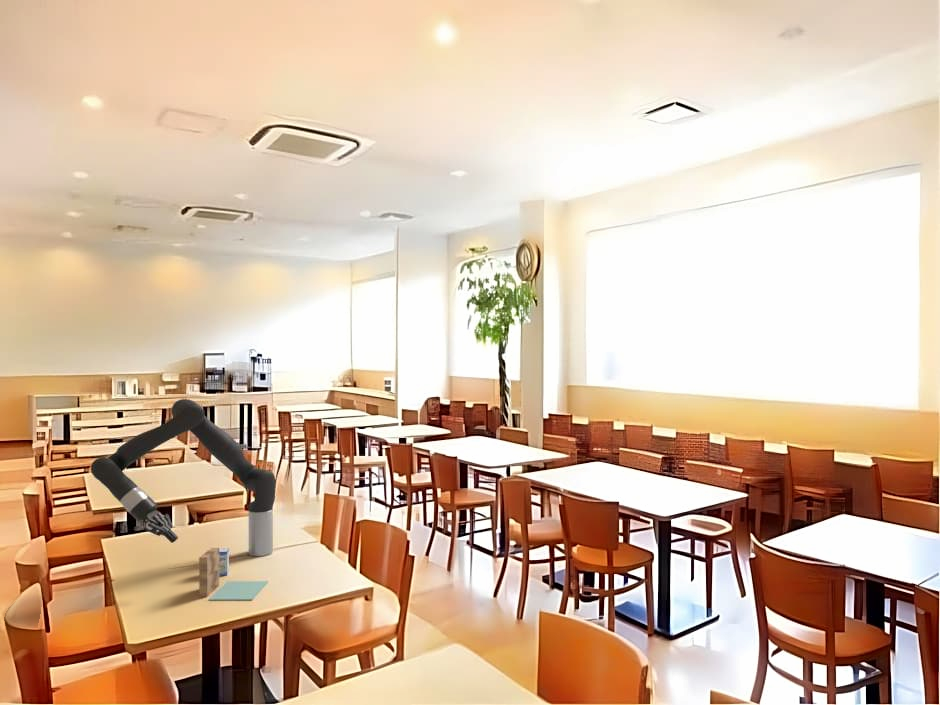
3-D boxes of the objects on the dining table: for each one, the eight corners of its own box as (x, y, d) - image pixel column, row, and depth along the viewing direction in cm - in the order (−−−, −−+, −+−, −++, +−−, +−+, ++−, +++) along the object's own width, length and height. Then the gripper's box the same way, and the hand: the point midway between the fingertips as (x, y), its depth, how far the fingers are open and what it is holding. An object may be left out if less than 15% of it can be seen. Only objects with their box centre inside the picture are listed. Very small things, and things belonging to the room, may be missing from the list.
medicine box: (204, 577, 223) (203, 553, 223) (205, 573, 228) (205, 549, 228) (227, 575, 225) (227, 551, 225) (228, 571, 230) (228, 547, 230)
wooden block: (211, 585, 216) (211, 547, 216) (219, 585, 216) (219, 547, 216) (199, 597, 206) (199, 557, 206) (207, 597, 206) (207, 557, 206)
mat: (227, 582, 219) (227, 581, 219) (267, 582, 219) (267, 581, 219) (208, 600, 203) (208, 599, 203) (252, 600, 203) (252, 599, 203)
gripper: (136, 500, 204) (174, 538, 204) (156, 491, 217) (192, 527, 217) (119, 517, 204) (157, 554, 204) (141, 507, 217) (176, 542, 217)
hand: (175, 540), depth 211 cm, fingers closed
